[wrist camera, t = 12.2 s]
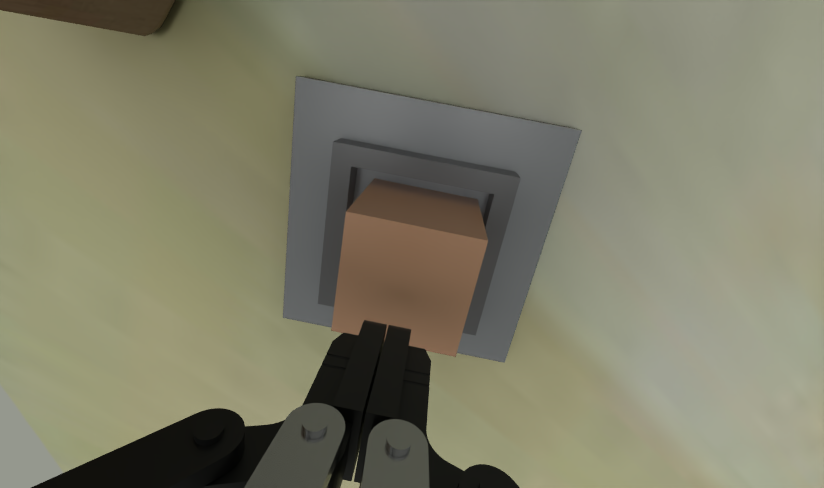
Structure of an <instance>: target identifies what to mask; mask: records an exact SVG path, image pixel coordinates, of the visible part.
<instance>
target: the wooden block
mask: <svg viewBox="0 0 824 488" xmlns="http://www.w3.org/2000/svg"><path fill="white" fill-rule="evenodd" d="M174 2H175V0H0V10H3V11H8V12H14V13H19V14H25V15H30V16H36V17H42V18H47V19H53V20H58V21H64V22H69V23H75V24H81V25H86V26H92V27H97V28H103V29H109V30H114V31H120V32H125V33H131V34H136V35H142V36H146V35H149V34H152V33H153V32H154V31H156V30H157V29H158V28H159V27H161V26H162V24H163V22H164V20H165V18H166V16H167V15H168V13H169V11H170V9H171V7H172V5H173V3H174Z"/></svg>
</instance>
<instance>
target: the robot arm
mask: <svg viewBox="0 0 824 488" xmlns="http://www.w3.org/2000/svg"><path fill="white" fill-rule="evenodd" d="M386 328H387V324H382V323H378V322H373V321H368V320H364V322H363V324H362V327H361V330H360V332H359V335H354V334H349V333H343V334H341V335H340V336H339V337H338V338H336V339H335V340H334V341H333V342H332V344H331V346H330V348H329V350H328V352H327V355H326V356H325V359H324V361H323V363H322V366H321V367H320V369H319V371H318V373H317V376H316V378H315V380H314V382H313V384H312V386H311V388H310V390H309V393H308V395H307V397H306V399H305V401H304V403H303V405H302V406H300V407H298V408H296V409H295V410H293V411H292V412H291V413H290V414H289V415H288V416H287V418H286V419H285V420H284V421H281V422H279V423H275V424H269V425H259V426H246V427H245V425H244V421H243V419H242V418H241V417H240V416H239V415H238V414H237V413H235V412H233V411H231V410H228V409H221V408H219V409H208V410H205V411H201V412H199V413H196V414H194V415H192V416H190V417H187V418H185V419H183V420H181V421H178V422H176V423H174V424H172V425H170V426H167V427H165V428H163V429H161V430H158V431H156V432H154V433H152V434H149V435H147V436H145V437H143V438H141V439H138V440H136V441H134V442H132V443H129V444H127V445H125V446H123V447H121V448H118V449H116V450H114V451H112V452H109V453H107V454H105V455H103V456H100V457H98V458H96V459H94V460H92V461H89V462H87V463H85V464H83V465H80V466H78V467H76V468H74V469H72V470H69V471H67V472H65V473H63V474H60V475H58V476H56V477H54V478H52V479H49V480H47V481H45V482H43V483H40V484H38V485H36V486H34V487H32V488H340V487H341V483H342V480H348V481H351V480H352V476H353V473H354V469H355V465H356V461H357V457H358V461H357V467H356V473H355V479H354V482H358V483H360V487H359V488H519V486H518V485H517V484H516V483H515V482H514V481H513V480H512V479H511V477H510V476H508V475H507V474H506V473H505V472H503V471H501V470H500V469H498V468H496V467H493V466H490V465H484V464H479V465H474V466H471V467H469V468H468V469H466V470H465V471H463V470H461V469H459V468H457V467H456V466H454V465H452V464H450V463H448V462H447V461H445V460H444V459H442V458H441V457H440V456H439V455H438V454H437V453H436V452H435V451H434V449H433V448H432V447H431V445H430V443H429V441H428V438H427V433H426V425H427V411H428V396H429V382H430V367H431V360H430V358H429V356H428V354H427V352H426V350H425V349H423V348H418V347H413V346H409V341H410V335H411V329H408V328H403V327H398V326H393V325H389V326H388V330H387V334H386ZM385 334H386V337H385ZM384 340H385V341H384ZM359 449H360V450H359ZM358 453H359V455H358Z"/></svg>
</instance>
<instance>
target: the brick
mask: <svg viewBox="0 0 824 488" xmlns="http://www.w3.org/2000/svg"><path fill="white" fill-rule="evenodd" d="M487 243H488V238H487V234H486V230H485V226H484V222H483V218H482V214H481V211H480V207H479V203H478V199H474V198H469V197H464V196H459V195H454V194H449V193H444V192H440V191H435V190H430V189H425V188H420V187H415V186H410V185H405V184H400V183H395V182H390V181H386V180H381V179H376V178H374V179H373V181H372V182H371V183H370V184H369V185H368V186H367V188H366V189H365V190H364V191H363V192H362V193H361V195H360V196H359V197H358V198H357V199H356V200H355V202H354V203H353V204H352V205H351V206H350V207H349V209H348V210H347V211H346V215H345V223H344V231H343V239H342V247H341V256H340V264H339V272H338V280H337V288H336V296H335V304H334V312H333V320H332V328H331V331H336V332H340V333H349V334H354V335H359V332H360V330H361V327H362V324H363V322H364V320H368V321H373V322H378V323H382V324H387V328H386V334H387V330H388V326H389V325H393V326H398V327H403V328H408V329H411V335H410V341H409V346H413V347H418V348H423V349H425V350H426V351H431V352H435V353H440V354H445V355H450V356H454V357H456V354H457V350H458V346H459V343H460V339H461V336H462V332H463V329H464V325H465V322H466V318H467V314H468V311H469V307H470V304H471V300H472V297H473V293H474V290H475V286H476V283H477V279H478V275H479V272H480V268H481V265H482V261H483V258H484V254H485V251H486V247H487ZM386 334H385V337H386ZM384 341H385V340H384Z"/></svg>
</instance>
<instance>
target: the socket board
mask: <svg viewBox="0 0 824 488" xmlns="http://www.w3.org/2000/svg"><path fill="white" fill-rule="evenodd" d="M581 131H582V130H579V129H575V128H570V127H565V126H560V125H554V124H549V123H544V122H539V121H533V120H528V119H523V118H518V117H512V116H507V115H502V114H497V113H491V112H486V111H481V110H476V109H470V108H465V107H460V106H454V105H449V104H444V103H439V102H433V101H428V100H423V99H418V98H412V97H407V96H402V95H397V94H391V93H386V92H381V91H376V90H370V89H365V88H360V87H355V86H349V85H344V84H339V83H334V82H328V81H323V80H318V79H313V78H307V77H301V76H296V85H295V104H294V123H293V141H292V160H291V178H290V197H289V215H288V234H287V253H286V271H285V290H284V308H283V318H287V319H292V320H297V321H302V322H307V323H312V324H317V325H322V326H327V327H332V320H333V312H334V304H335V296H336V288H337V280H338V272H339V264H340V256H341V247H342V239H343V231H344V223H345V215H346V211H347V210H348V209H349V207H350V206H351V205H352V204H353V203H354V202H355V200H356V199H357V198H358V197H359V196H360V195H361V193H362V192H363V191H364V190H365V189H366V188H367V186H368V185H369V184H370V183H371V182H372V181H373V179H374V178H376V179H381V180H386V181H390V182H395V183H400V184H405V185H410V186H415V187H420V188H425V189H430V190H435V191H440V192H444V193H449V194H454V195H459V196H464V197H469V198H474V199H478V203H479V207H480V211H481V214H482V218H483V222H484V226H485V230H486V234H487V238H488V243H487V247H486V251H485V254H484V258H483V261H482V265H481V268H480V272H479V275H478V279H477V283H476V286H475V290H474V293H473V297H472V300H471V304H470V307H469V311H468V314H467V318H466V322H465V325H464V329H463V332H462V336H461V339H460V343H459V346H458V350H457V353H460V354H465V355H470V356H475V357H480V358H485V359H490V360H495V361H499V362H505V359H506V356H507V353H508V350H509V347H510V344H511V341H512V338H513V335H514V332H515V329H516V326H517V323H518V320H519V317H520V314H521V311H522V308H523V305H524V302H525V299H526V296H527V293H528V290H529V287H530V284H531V281H532V278H533V275H534V272H535V269H536V266H537V263H538V260H539V257H540V254H541V251H542V248H543V245H544V242H545V239H546V236H547V233H548V230H549V227H550V224H551V221H552V218H553V215H554V212H555V209H556V206H557V203H558V200H559V197H560V194H561V191H562V188H563V185H564V182H565V179H566V176H567V173H568V170H569V167H570V164H571V161H572V158H573V155H574V152H575V149H576V146H577V143H578V140H579V137H580V134H581Z"/></svg>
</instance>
